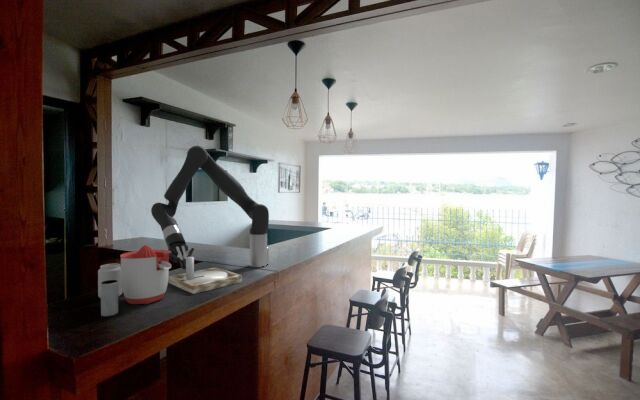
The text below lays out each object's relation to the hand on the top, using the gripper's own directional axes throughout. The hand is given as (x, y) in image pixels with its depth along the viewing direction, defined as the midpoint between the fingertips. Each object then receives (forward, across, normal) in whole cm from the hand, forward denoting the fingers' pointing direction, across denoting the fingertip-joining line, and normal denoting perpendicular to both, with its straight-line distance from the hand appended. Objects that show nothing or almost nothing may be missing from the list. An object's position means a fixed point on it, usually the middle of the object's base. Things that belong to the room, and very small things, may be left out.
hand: (186, 268), depth 132 cm
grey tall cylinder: (+16, -32, -6) cm, 36 cm away
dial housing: (+8, +6, 0) cm, 10 cm away
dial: (+7, +6, -1) cm, 10 cm away
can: (+2, -27, +7) cm, 28 cm away
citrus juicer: (+12, -19, -3) cm, 23 cm away
